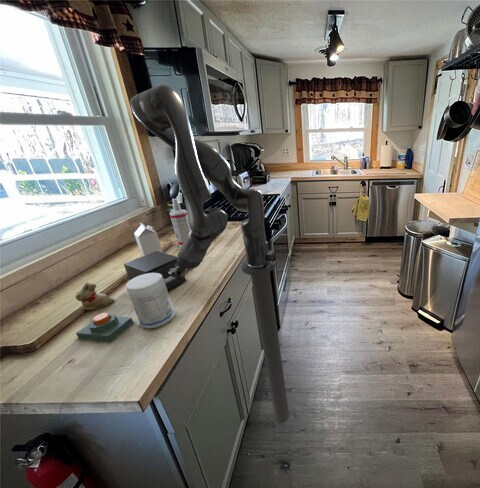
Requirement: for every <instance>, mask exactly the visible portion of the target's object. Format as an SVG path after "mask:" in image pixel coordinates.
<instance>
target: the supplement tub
mask: <svg viewBox="0 0 480 488" xmlns="http://www.w3.org/2000/svg"><path fill="white" fill-rule="evenodd" d="M125 289H126V292H127V296H128V298H129V300H130V302H131V305H132V308H133V310H134V312H135V315H136V317H137V320H138V322H139V325H140V326H141V327H142V328H145V329H155V328H159V327H161V326H164V325H166V324H167V323H169V322H170V321H171V320H172V319H173V317H174V315H175V310H174V306H173V304H172V301H171V297H170V294H169V292H168V291H169V290H167V288H166V285H165V282H164V279H163V277H162V275H161V274H159V273H148V274H143V275H140V276H137V277H135V278H133V279H131V280H130V279H129V280H128V281H127V283H126V284H125Z"/></svg>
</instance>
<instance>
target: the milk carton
mask: <svg viewBox="0 0 480 488" xmlns="http://www.w3.org/2000/svg"><path fill="white" fill-rule="evenodd" d="M133 235H134V239H135V241H136V243H137V246H138V249H139V252H140V255H141V257H143V256H145V255H148V254H150V253H153V252H155V251H159V252H162V253H164V252H163V248H162V245H161V241H160V240H159V239H160V238H159V236H158V233H157V232H156V231H155V230H154V229H153V226H151V225H147V226H146V225H145V224H144V223H142V222H139V227H137V229H136V230H135V231H134V232H133Z"/></svg>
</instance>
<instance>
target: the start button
mask: <svg viewBox="0 0 480 488" xmlns="http://www.w3.org/2000/svg"><path fill="white" fill-rule="evenodd" d="M108 313H109V312H102V313H99V314H97V315H95V316H94V317H93V318H92V320H93V321H94V323H95V325H100V324H103V323H105V322H107V321H109V320H110V317H109V315H108Z"/></svg>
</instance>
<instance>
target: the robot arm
mask: <svg viewBox="0 0 480 488" xmlns="http://www.w3.org/2000/svg"><path fill="white" fill-rule="evenodd" d="M129 104H130V109H131V111H132V113H133V115H134V116H135V117H136V119H137V120H138V121H139V122H140V123H141V124H142V125H143V126H144V127H145V128H146V129H147V130H148V131H150V132H151V133H152V134H153V135H155V136H156V137H157V138H158V139H160V140H161V141H163V142H164V143H165V144H166V145H168V146H169V147H170V148H171V149H173V150H174V152H175V159H174V173H175V178H176V182H177V184H178V186H179V189H180V191H181V193H182V195H183V198H184V202H185V206H186V211H187V215H188V223H189V227H190V229H191V231H190V233H189V234H188V236H187V239H186V241H185V242H184V243H183V245H182V247H180V249H179V251H178V253H177V255H176V257H177V264H176V265H175V268H172V269H168V270H167V272H168V273H169V274H170V275H171V277H175V278H177V279H179V280H181V279H183V278H184V276H185V277H186V275H188V274H189V272H192V271H193V270H194V269H196V268H198V267H199V266H200V264H201V263H202V262H203V261H204V259H205V257H206V255H207V253H208V250H209V248H210V247H211V245H212V243H213V242H214V241H215V240H216V239H218V238H219V236H221V234H223V232H224V231H225V230H226V229H227V226H228V221H229V219H228V215H227V213H226V211H224V210H223V209H221V208H219V207H212V208H209V209H206V210H204V204H205V203H206V202H208V201H209V200H211V198H212V193H211V189H210V187H209V184H208V182H209V183H211V184H212V185H213V186H214V187H215V188H216V189H217V190H218V191H219V192H220V193H221V194H222V195H223V196H224V198H226V199H227V201H228V202H229V203H230V204H231V206H232V207H234V209H235V210H237V211H240V212H244V213H248V218H245V219H243V220H242V221H240V227H241V233H242V238H243V239H242V240H243V245H244V252H245V257H246V260H247V264H248V267H250V268H262V267H267V265H268V264H269V262H270V261H272V262H274V261H276V260H277V256H276V253H275V250H271V249H270V245H269V241H267V237H266V236H267V235H266V228H265V218H266V217H265V204H264V198H263V194H262V192H261V191H260V190H259V189H255V188H243V187H242V186H240V185H239V184H238V183H237V182H236V181H235V180H234V178H233V175H232V168H231V166H230V163H229V162H228V161H227V160H226V158H225V157H224V156H223V155H222V154H221V153H220V151H218V150H217V149H216V148H215V147H213V146H212V145H210V144H208V143H206V142H205V141H202V140H199V139H197V138H195V137H194V135H193V131H192V128H191V123H190V119H189V115H188V112H187V109H186V106H185V103H184V102H183V99H182V98H181V96H180V95H179V94H178V92H177V91H176V90H175V89H174V88H172V87H171V86H169V85H167V84H165V83H164V84H158V85H156V86H153V87H151V88H148V89H147V90H145V91H142V92H140V93H138V94H136V95H134V96H132V97H131V98H130V101H129ZM207 181H208V182H207Z"/></svg>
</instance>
